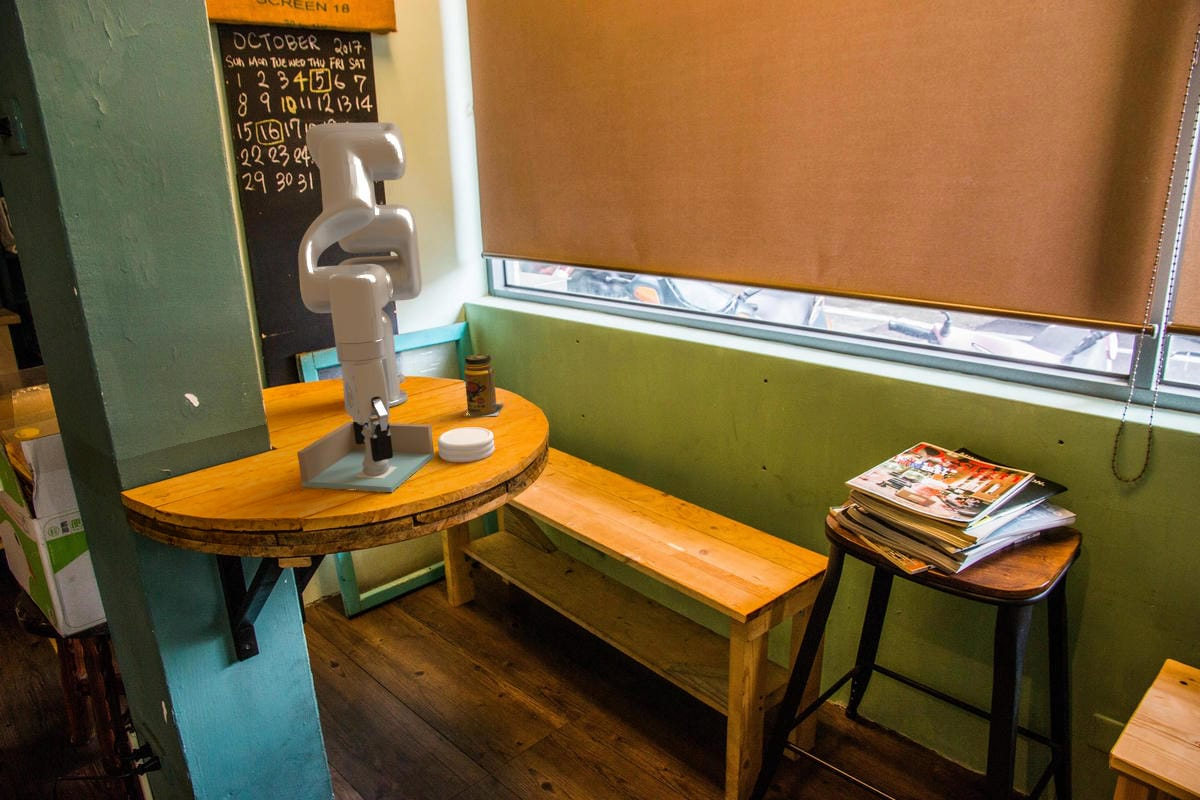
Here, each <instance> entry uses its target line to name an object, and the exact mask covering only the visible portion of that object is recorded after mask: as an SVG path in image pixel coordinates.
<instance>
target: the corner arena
mask: <svg viewBox="0 0 1200 800" xmlns="http://www.w3.org/2000/svg"><path fill="white" fill-rule="evenodd" d="M353 422H355V421H353V420H349V421H346V422H345V423H343V424H342V425H340V426H339V427H337V428H336V429H333V430H332V431H330V432H329V433H327V434H326V435H324V436H322V437H320V438H319V439H317V440H315V441H314V442H313V443H310V444H309V445H307V446H305V447H304V448H302V449H301V450H298V451H297V452H296V453H297V460H298V465H299V473H300V479H301V486H302V488H311V489H325V488H327V490H340V489H354V490H353V491H355V489H356V490H367V491H366V492H369V491H380V492H379V493H384V492H393V491H394V490H395V489H396V488H397V487H398V488H400V487H401V486H402V485H403V484H404V483H405V482H406V481H405V480H407V479H408V478H409V477H410V476H411V475H412V474H414V473H415V472H416V471H417V472H418V471H420V470H421V469H422V468H423V467H424V466H425V465H427V464H426V463H429V462H430V461H431V460H432V459H434V458H435V451H434V450H435V449H434V441H433V440H434V439H433V431H432V430H433V429H432V424H417V423H400V422H399V423H398V422H397V423H395V422H388V424H389V426H390V428H389V429H390V433H391V443H392V451H393V457H392V458H390V459H388V461H389V463H388V465H389V466H390V468H389V469H388V471H387V472H385V473H383V474H380V475H367V474H365V473H364V472H363V470H362V469H363V468H364V467H363V466H362V462H363V461H364V458H365V454H366V444H365V443H364V444H359V445H358V444H356V442H355V434H354V427H353ZM378 424H379V423H378ZM373 425H374V424H373ZM428 461H429V462H428ZM422 466H423V467H422ZM421 467H422V468H421ZM420 468H421V469H420ZM417 472H416V473H417ZM416 473H415V474H416ZM415 474H414V475H415ZM412 476H413V475H412ZM412 476H411V477H412ZM411 477H410V478H411ZM410 478H409V479H410ZM409 479H408V480H409ZM408 480H407V481H408ZM404 481H405V482H404ZM403 482H404V483H403ZM402 483H403V484H402ZM401 484H402V485H401ZM400 485H401V486H400ZM399 486H400V487H399ZM328 488H329V489H328ZM398 488H397V489H398ZM397 489H396V490H397ZM396 490H395V491H396ZM395 491H394V492H395ZM394 492H393V493H394Z"/></svg>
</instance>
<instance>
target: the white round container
mask: <svg viewBox="0 0 1200 800" xmlns="http://www.w3.org/2000/svg"><path fill="white" fill-rule="evenodd" d="M437 444H438V447H437V449H438V455H439V457H440V458H441V459H442V460H444V461H447V462H451V463H471V462H477V461H481V460H484V459H486V458H488V457H490V456H491V455H493V453H494V452H495V448H496V447H495V441H494V434H493V432H492V431H491V430H490V429H487V428H484V427H476V426H473V427H472V426H467V427H459V428H458V427H457V428H454V429H450V430H447V431H445V432H443V433H442V434H440V435H439V437H438V438H437Z"/></svg>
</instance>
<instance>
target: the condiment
mask: <svg viewBox="0 0 1200 800" xmlns="http://www.w3.org/2000/svg"><path fill="white" fill-rule="evenodd" d="M491 361H492V357H491V356H490V355H489V354H485V353H479V354H478V353H477V354H476V353H475V354H471V355H470V354H469V355H467V356H466V357H465V359H464V362H465V366H464V367H465V370H464V372H463V373H464V381H465V383H464V384H465V394H466V395H465V396H466V405H467V409H466V411H467V412H468V413H469V414H470V415H469V414H468V415H467V416H466V413H467V412H466V411H465V413H464V414H463V415H464V416H463V417H464V418H465V417H495V416H496V417H498V415H499V414H500V412H501V411H502V408H503V406H504V404H505V402H501V403H497V393H496V385H495V384H496V383H495V382H496V381H495V371H494V368H493V366H492V362H491Z"/></svg>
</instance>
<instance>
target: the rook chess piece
mask: <svg viewBox="0 0 1200 800" xmlns="http://www.w3.org/2000/svg"><path fill="white" fill-rule="evenodd" d="M376 425H377V424H374V428H375V429H376ZM361 433H362V434H363V435H364V436H365V440H364V442H365V444H366V454H365V458H364V461H363V462H362V466H363V467H364V468H363V469H362V470H363V472H364V473H365V474H367V475H380V474H383V473H385V472H387V471H388V469H389V468H390V466H389V465H388V463H389V461H388V459H386V460H382V461H377V462H374V461H373V459H372V452H371V444H370V438H371V437H372V436H371V432H370V429H369V427H367V425H364V426H363V430H362V432H361Z"/></svg>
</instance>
